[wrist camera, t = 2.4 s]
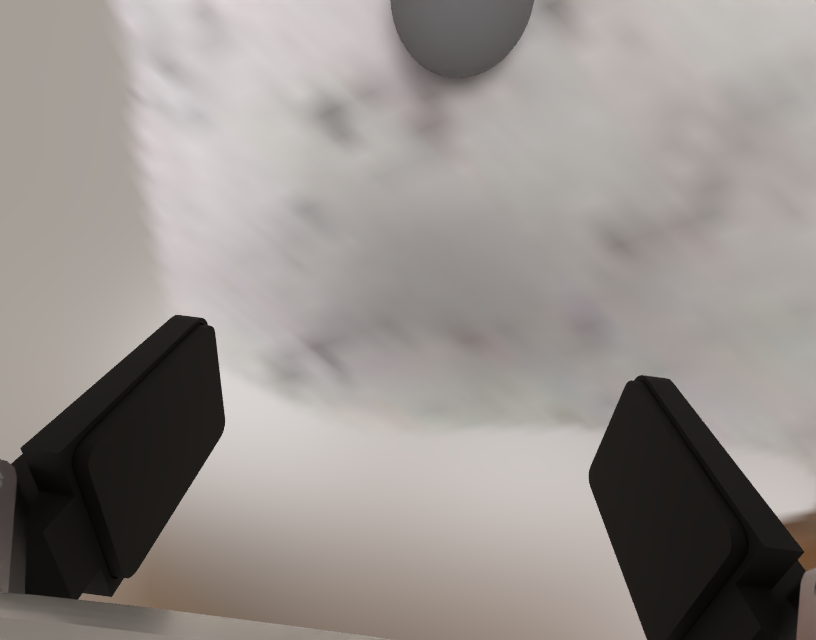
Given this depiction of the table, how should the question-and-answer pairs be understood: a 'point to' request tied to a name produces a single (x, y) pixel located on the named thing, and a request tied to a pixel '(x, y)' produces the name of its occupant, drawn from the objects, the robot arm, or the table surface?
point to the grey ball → (460, 32)
